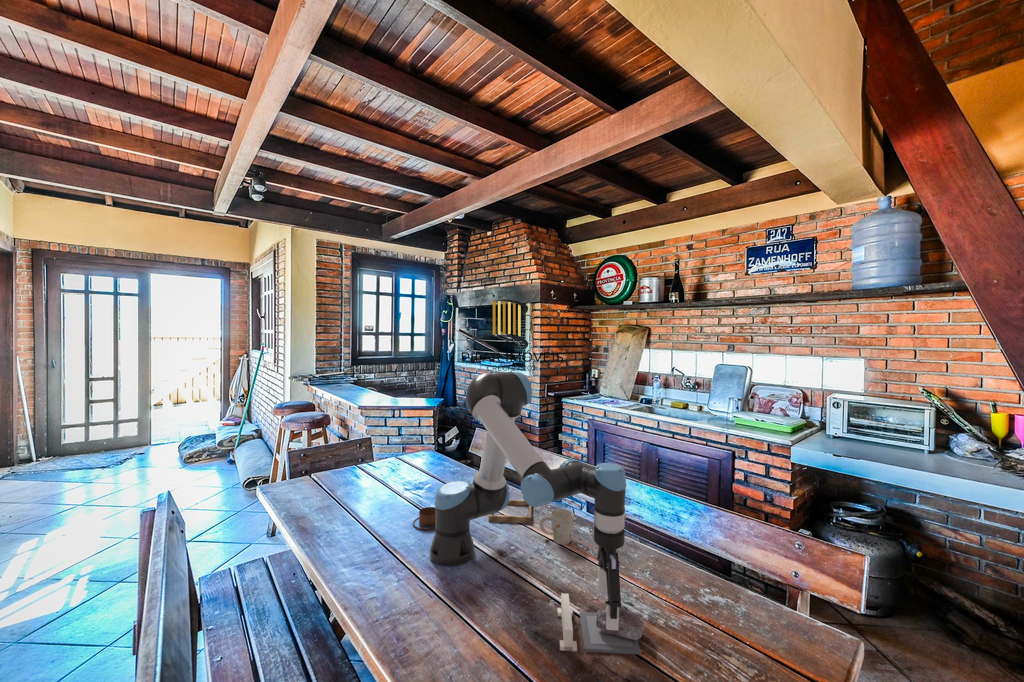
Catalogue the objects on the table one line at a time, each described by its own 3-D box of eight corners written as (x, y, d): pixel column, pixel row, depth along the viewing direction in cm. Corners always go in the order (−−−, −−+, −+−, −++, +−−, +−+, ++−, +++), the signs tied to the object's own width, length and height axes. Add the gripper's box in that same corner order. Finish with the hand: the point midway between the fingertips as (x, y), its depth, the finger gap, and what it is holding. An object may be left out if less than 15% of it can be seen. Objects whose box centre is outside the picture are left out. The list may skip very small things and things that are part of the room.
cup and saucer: (406, 530, 159) (406, 514, 159) (424, 517, 170) (424, 502, 170) (432, 536, 155) (433, 519, 155) (449, 522, 166) (449, 507, 166)
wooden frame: (488, 523, 165) (488, 516, 165) (493, 506, 182) (493, 499, 182) (531, 524, 164) (531, 517, 164) (531, 507, 181) (531, 500, 181)
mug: (572, 547, 147) (573, 519, 146) (537, 543, 149) (538, 516, 149) (574, 536, 155) (574, 510, 155) (540, 533, 157) (541, 507, 157)
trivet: (585, 651, 98) (585, 648, 98) (579, 614, 111) (579, 611, 111) (640, 654, 97) (641, 650, 97) (628, 617, 110) (628, 613, 110)
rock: (595, 614, 109) (596, 597, 109) (640, 623, 107) (641, 605, 107) (595, 635, 101) (597, 616, 101) (644, 645, 99) (645, 626, 99)
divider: (560, 650, 99) (560, 629, 98) (557, 611, 113) (557, 593, 112) (576, 651, 98) (577, 630, 98) (572, 612, 112) (572, 593, 112)
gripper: (636, 554, 91) (633, 648, 92) (615, 506, 116) (613, 580, 117) (601, 552, 92) (599, 646, 92) (588, 505, 117) (586, 579, 117)
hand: (607, 609), depth 104 cm, fingers open, 13 cm apart
